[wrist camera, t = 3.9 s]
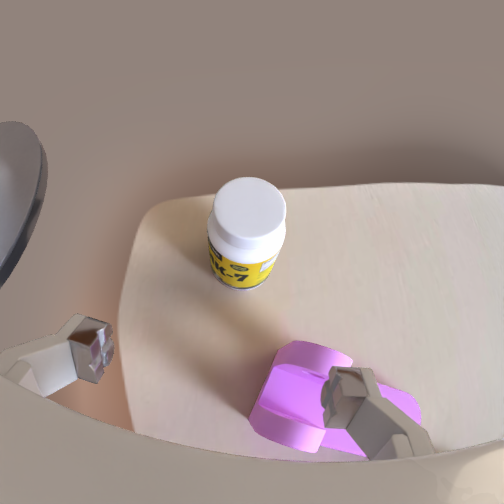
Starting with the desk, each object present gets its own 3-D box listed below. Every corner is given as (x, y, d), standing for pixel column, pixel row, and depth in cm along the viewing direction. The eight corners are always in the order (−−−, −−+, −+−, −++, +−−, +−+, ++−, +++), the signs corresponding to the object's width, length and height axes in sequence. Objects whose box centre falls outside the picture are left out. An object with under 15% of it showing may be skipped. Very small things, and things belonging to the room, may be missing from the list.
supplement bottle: (197, 265, 24) (186, 207, 16) (237, 224, 25) (243, 157, 18) (245, 304, 23) (256, 263, 15) (283, 260, 25) (310, 203, 17)
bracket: (247, 419, 19) (257, 436, 13) (277, 350, 22) (300, 336, 15) (397, 460, 18) (449, 477, 12) (419, 398, 21) (475, 396, 14)
